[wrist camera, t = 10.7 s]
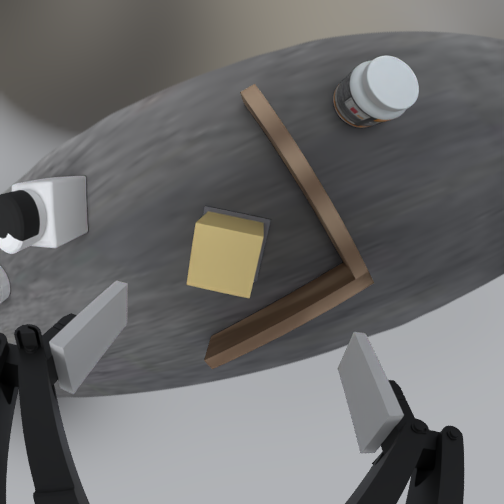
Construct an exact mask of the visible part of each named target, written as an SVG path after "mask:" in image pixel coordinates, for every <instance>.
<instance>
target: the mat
mask: <svg viewBox="0 0 504 504" xmlns="http://www.w3.org/2000/svg"><path fill="white" fill-rule="evenodd" d="M208 211H209V212H214V213H219V214H224V215H229V216H234V217H238V218H243V219H248V220H253V221H257V222H262V223H264V237H263V242H262V246H261V251H260V255H259V259H258V264H257V268H256V272H255V277H254V281H256V282H257V278H258V274H259V269H260V265H261V261H262V257H263V252H264V248H265V244H266V240H267V235H268V231H269V227H270V222H271V220H270V219H266V218H261V217H257V216H252V215H247V214H243V213H238V212H233V211H228V210H223V209H218V208H214V207H209V206H204V212H203V216H204V215H205V214H206V213H207V212H208Z"/></svg>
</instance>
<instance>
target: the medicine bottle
mask: <svg viewBox="0 0 504 504" xmlns="http://www.w3.org/2000/svg"><path fill="white" fill-rule="evenodd" d="M87 232H88V221H87V200H86V177H85V176H66V177H52V178H44V179H38V180H32V181H27V182H22V183H17V184H14V185H12V192H9V193H5V194H1V195H0V248H1V249H2V250H3V251H5V252H7V253H10V254H13V253H16V252H18V251H20V250H22V249H24V248H26V247H28V246H38V247H49V248H57V247H59V246H61V245H63V244H65V243H67V242H69V241H71V240H73V239H75V238H77V237H79V236H81V235H83V234H85V233H87Z"/></svg>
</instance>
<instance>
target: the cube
mask: <svg viewBox="0 0 504 504" xmlns="http://www.w3.org/2000/svg"><path fill="white" fill-rule="evenodd" d="M263 237H264V223H262V222H257V221H253V220H248V219H243V218H238V217H234V216H229V215H224V214H219V213H214V212H209V211H208V212H207V213H206V214H205V215H204V216H203V217H202V218H201V219H199V220H198V221H197V222H196V225H195V231H194V238H193V244H192V251H191V257H190V264H189V271H188V279H187V285H190V286H194V287H199V288H203V289H208V290H212V291H217V292H221V293H226V294H231V295H235V296H240V297H245V298H250V294H251V290H252V285H253V281H254V277H255V272H256V268H257V264H258V259H259V255H260V251H261V246H262V242H263Z"/></svg>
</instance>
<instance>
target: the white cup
mask: <svg viewBox="0 0 504 504" xmlns="http://www.w3.org/2000/svg"><path fill="white" fill-rule="evenodd" d="M9 295H10V282H9V279H8V277H7V274H6V272H5V271H4V269H3V268H2V267H1V266H0V303H2V302H3V301H4V300H5V299H7V298H8V297H9Z"/></svg>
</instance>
